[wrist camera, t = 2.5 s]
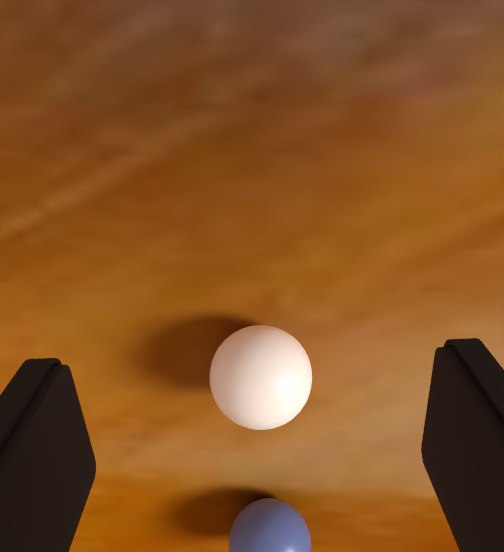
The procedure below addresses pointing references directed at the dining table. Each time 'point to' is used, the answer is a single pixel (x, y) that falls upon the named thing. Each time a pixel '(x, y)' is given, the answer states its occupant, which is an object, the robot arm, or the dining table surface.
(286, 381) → the cue ball
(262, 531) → the object ball
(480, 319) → the dining table surface
